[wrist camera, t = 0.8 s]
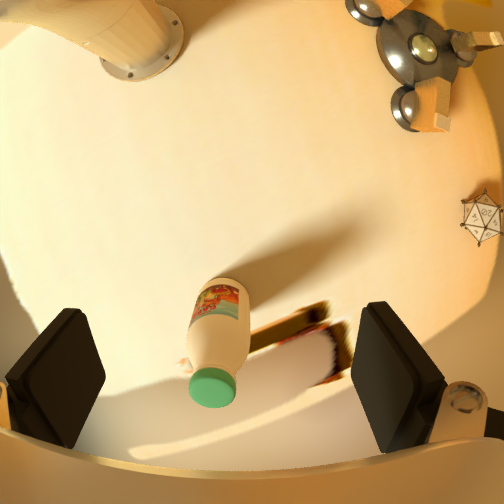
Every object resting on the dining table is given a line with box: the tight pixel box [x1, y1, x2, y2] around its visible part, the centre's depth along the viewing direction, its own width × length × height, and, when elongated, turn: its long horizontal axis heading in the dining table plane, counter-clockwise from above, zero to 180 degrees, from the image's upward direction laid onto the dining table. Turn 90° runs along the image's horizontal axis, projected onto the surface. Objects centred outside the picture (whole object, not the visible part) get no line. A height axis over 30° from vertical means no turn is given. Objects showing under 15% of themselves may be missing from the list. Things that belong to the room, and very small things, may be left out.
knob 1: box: [399, 77, 451, 132], centre depth 32 cm, size 7×5×8 cm
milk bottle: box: [186, 278, 250, 408], centre depth 36 cm, size 8×8×20 cm
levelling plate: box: [345, 0, 473, 132], centre depth 31 cm, size 22×24×3 cm
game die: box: [460, 188, 504, 247], centre depth 38 cm, size 9×8×10 cm
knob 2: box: [449, 31, 504, 62], centre depth 28 cm, size 7×5×8 cm
